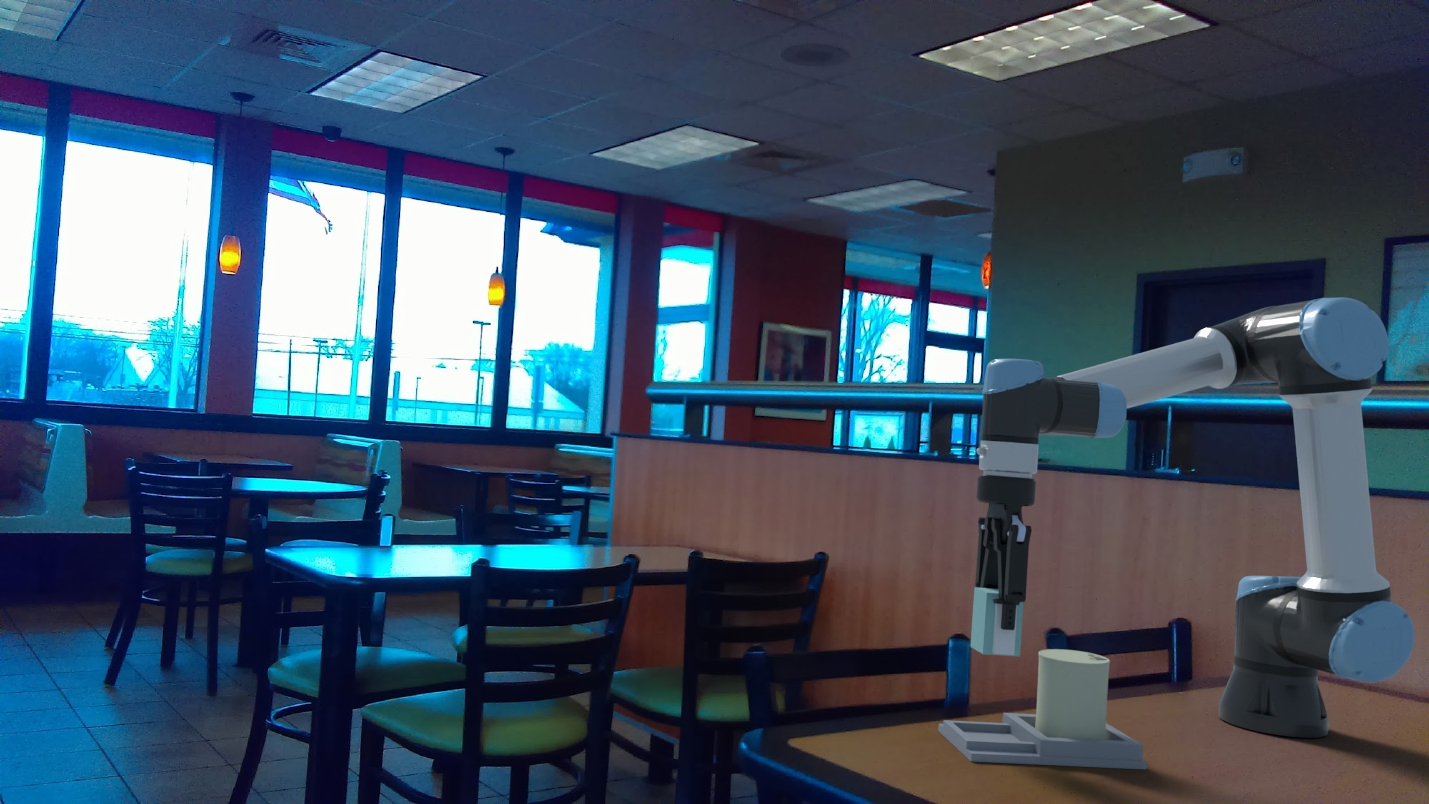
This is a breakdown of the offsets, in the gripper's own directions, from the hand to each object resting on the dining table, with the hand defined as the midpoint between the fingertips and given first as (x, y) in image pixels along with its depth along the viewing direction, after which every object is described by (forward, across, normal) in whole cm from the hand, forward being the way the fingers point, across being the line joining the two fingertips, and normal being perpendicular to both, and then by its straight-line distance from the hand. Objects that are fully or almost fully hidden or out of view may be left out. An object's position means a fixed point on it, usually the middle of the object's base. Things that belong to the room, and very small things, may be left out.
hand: (995, 649), depth 144 cm
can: (+12, 0, +11) cm, 16 cm away
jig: (+13, 0, +7) cm, 14 cm away
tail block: (0, 0, 0) cm, 0 cm away
